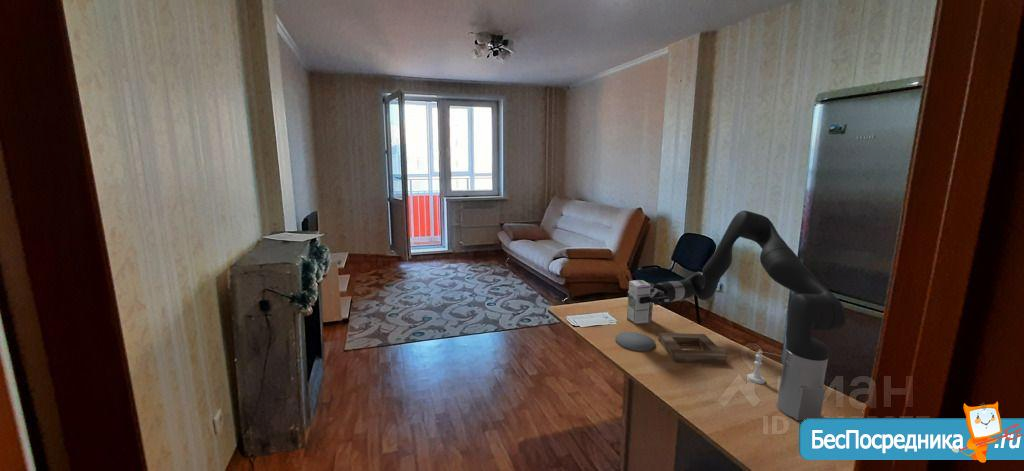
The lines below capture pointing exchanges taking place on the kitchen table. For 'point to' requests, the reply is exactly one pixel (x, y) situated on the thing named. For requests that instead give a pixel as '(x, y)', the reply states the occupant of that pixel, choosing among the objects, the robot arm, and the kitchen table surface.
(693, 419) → the kitchen table surface
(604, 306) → the kitchen table surface
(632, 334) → the slate mat
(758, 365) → the chess piece
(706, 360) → the walnut holder
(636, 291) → the syrup box
